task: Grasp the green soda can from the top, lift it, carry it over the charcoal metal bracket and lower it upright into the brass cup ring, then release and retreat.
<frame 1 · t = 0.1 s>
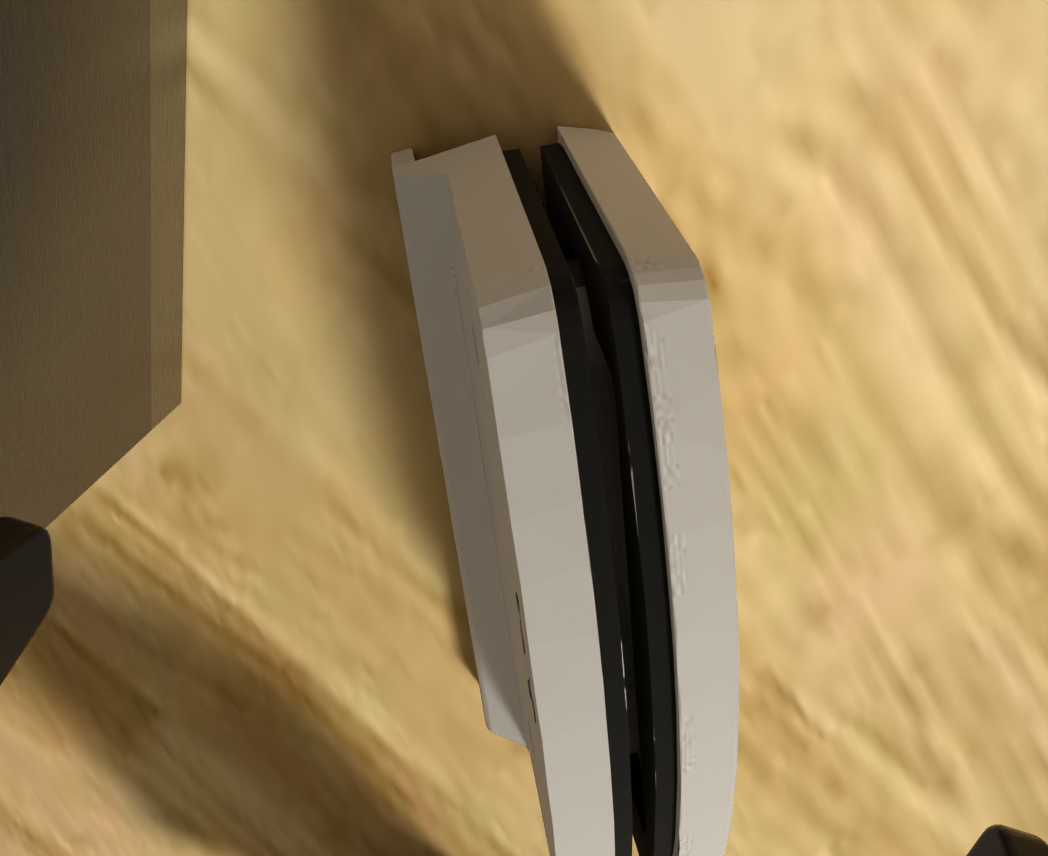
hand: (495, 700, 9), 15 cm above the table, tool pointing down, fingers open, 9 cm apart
white slotted casing: (590, 453, 25), on the table
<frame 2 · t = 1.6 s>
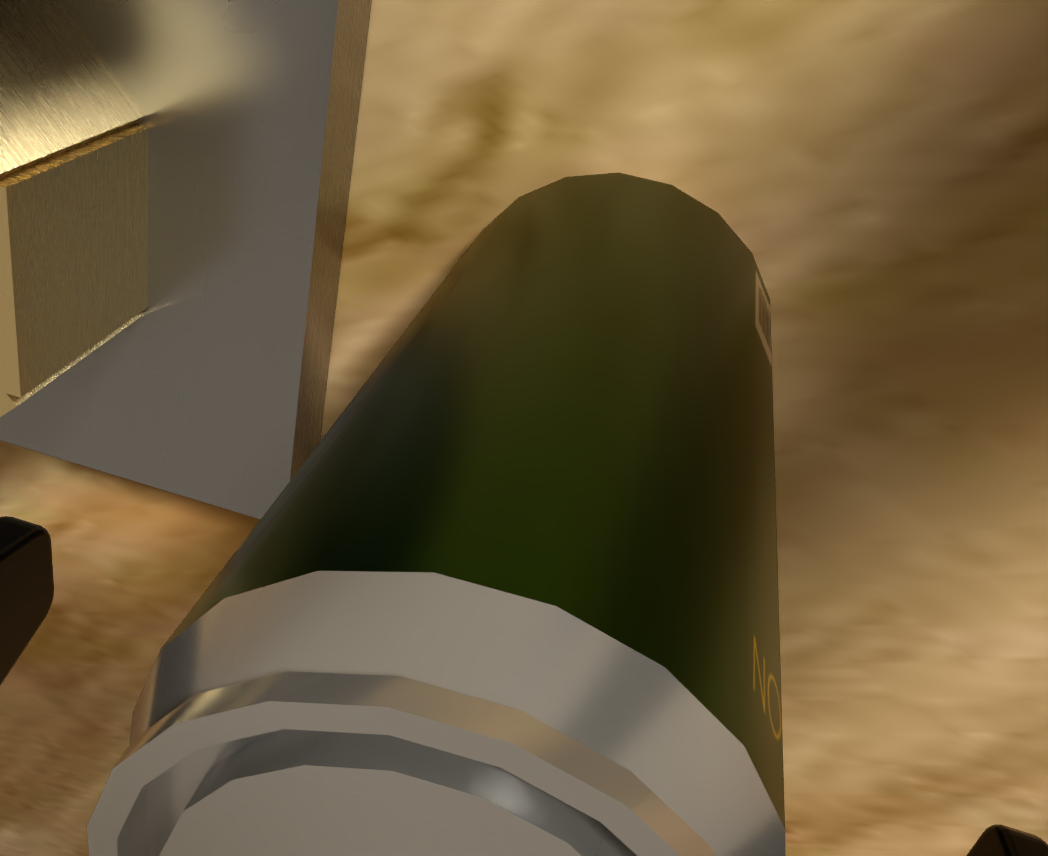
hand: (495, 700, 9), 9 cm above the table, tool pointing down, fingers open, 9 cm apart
green soda can: (615, 310, 17), on the table
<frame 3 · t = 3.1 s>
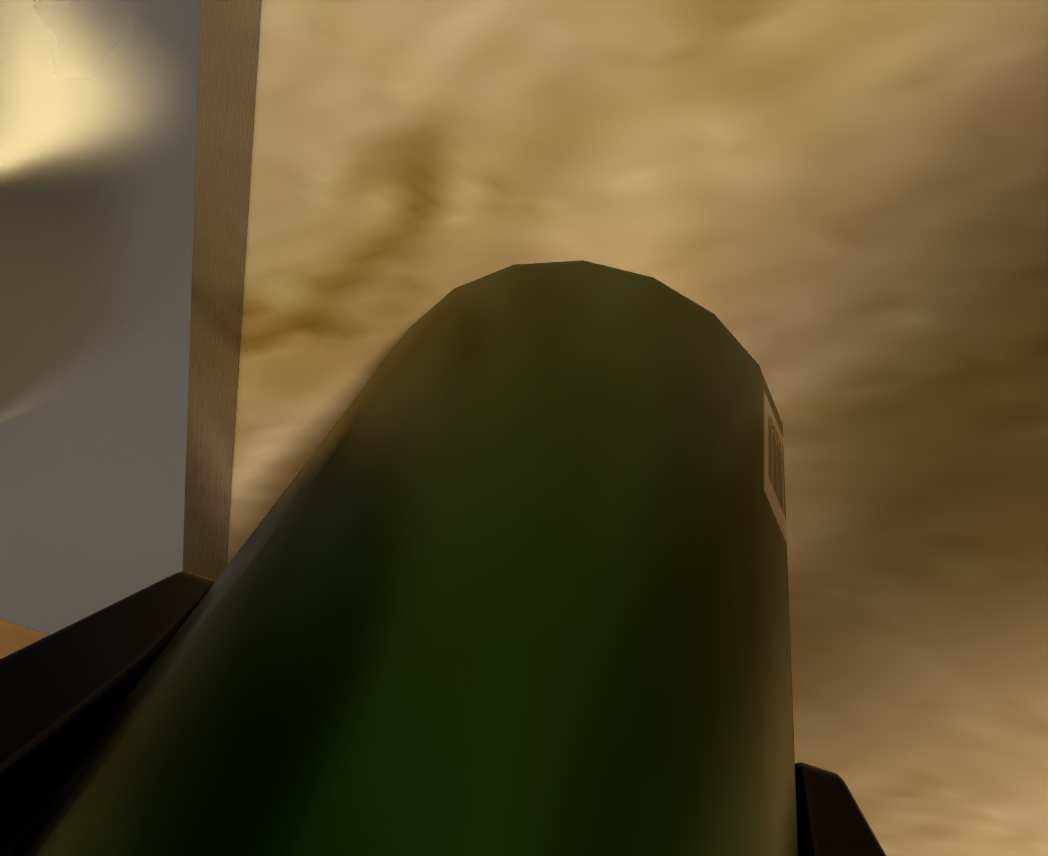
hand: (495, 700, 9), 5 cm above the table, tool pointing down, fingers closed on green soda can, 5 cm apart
green soda can: (584, 421, 14), on the table, touching gripper
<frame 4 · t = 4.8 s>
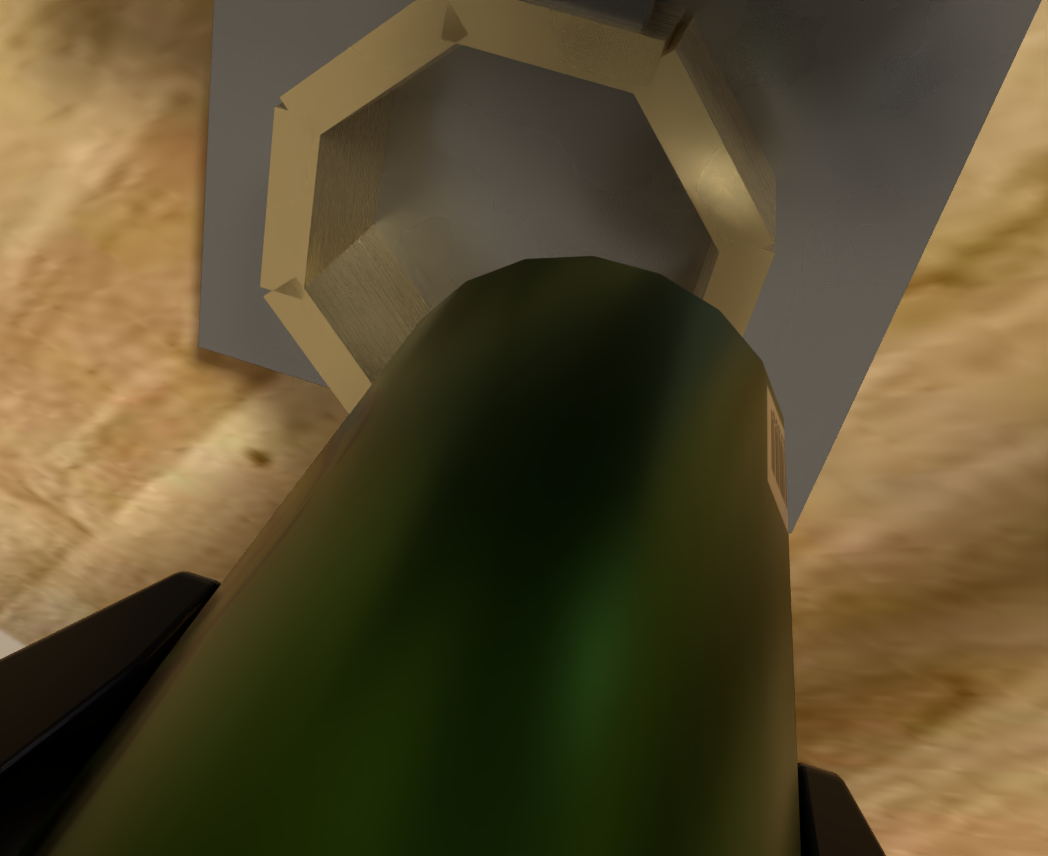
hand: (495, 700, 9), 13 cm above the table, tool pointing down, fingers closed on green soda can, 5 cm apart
green soda can: (589, 413, 14), point 8 cm above the table, touching gripper
cup bracket: (575, 114, 20), on the table
when the fingers open (8 cm above the table, at t = 7.0 s): green soda can stays where it is, resting on cup bracket.
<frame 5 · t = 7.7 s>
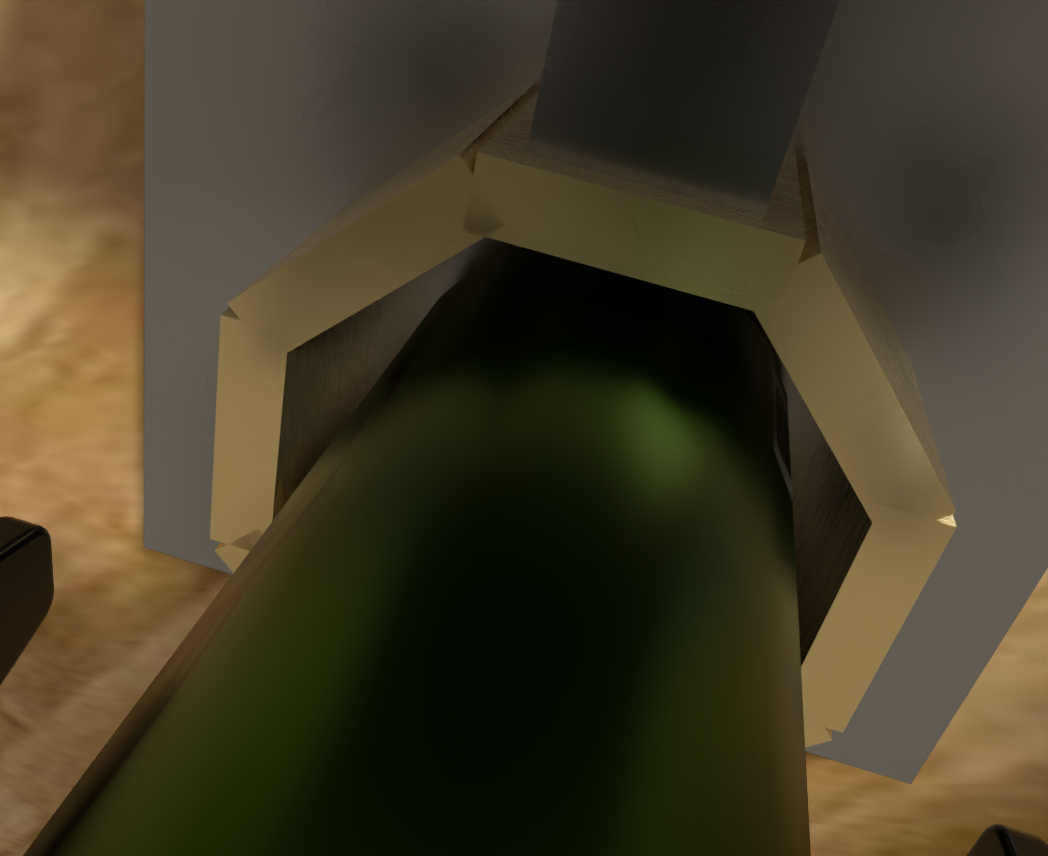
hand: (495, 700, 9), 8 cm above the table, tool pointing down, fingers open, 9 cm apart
green soda can: (598, 391, 15), point 1 cm above the table, touching cup bracket
cup bracket: (629, 266, 15), on the table
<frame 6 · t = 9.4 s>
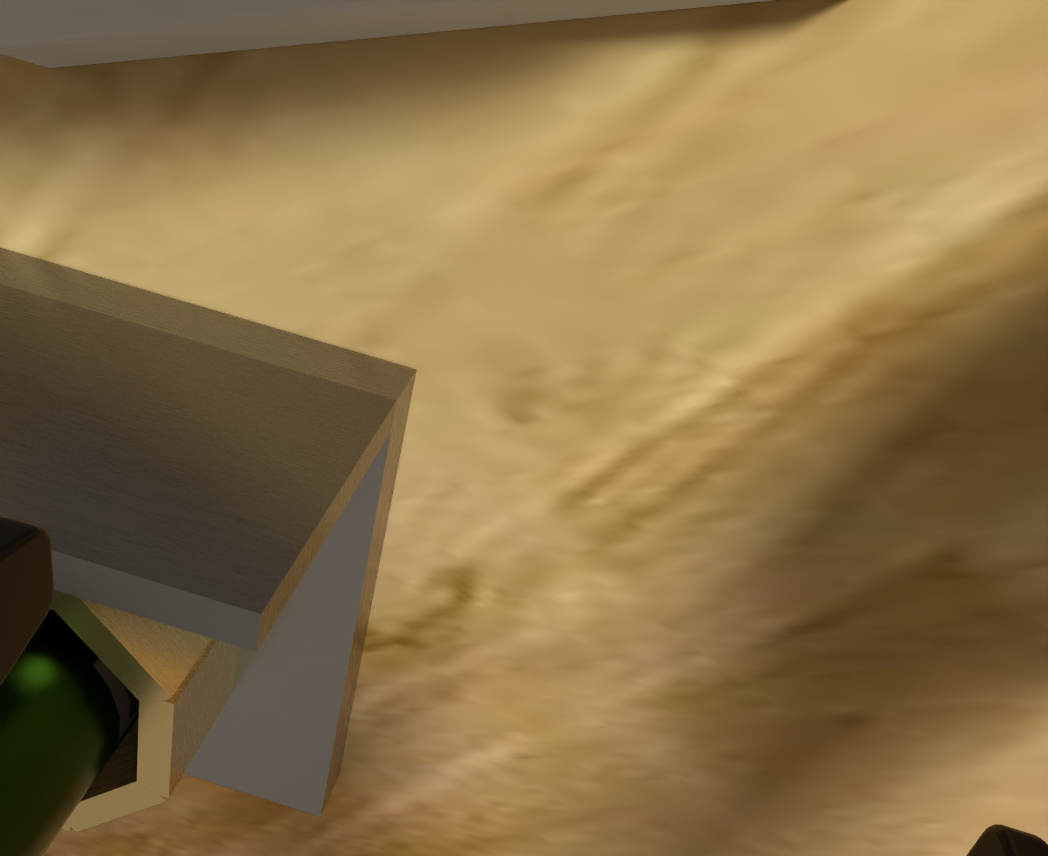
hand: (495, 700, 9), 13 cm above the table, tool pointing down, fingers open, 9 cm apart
green soda can: (95, 598, 26), point 1 cm above the table, touching cup bracket
cup bracket: (119, 523, 26), on the table
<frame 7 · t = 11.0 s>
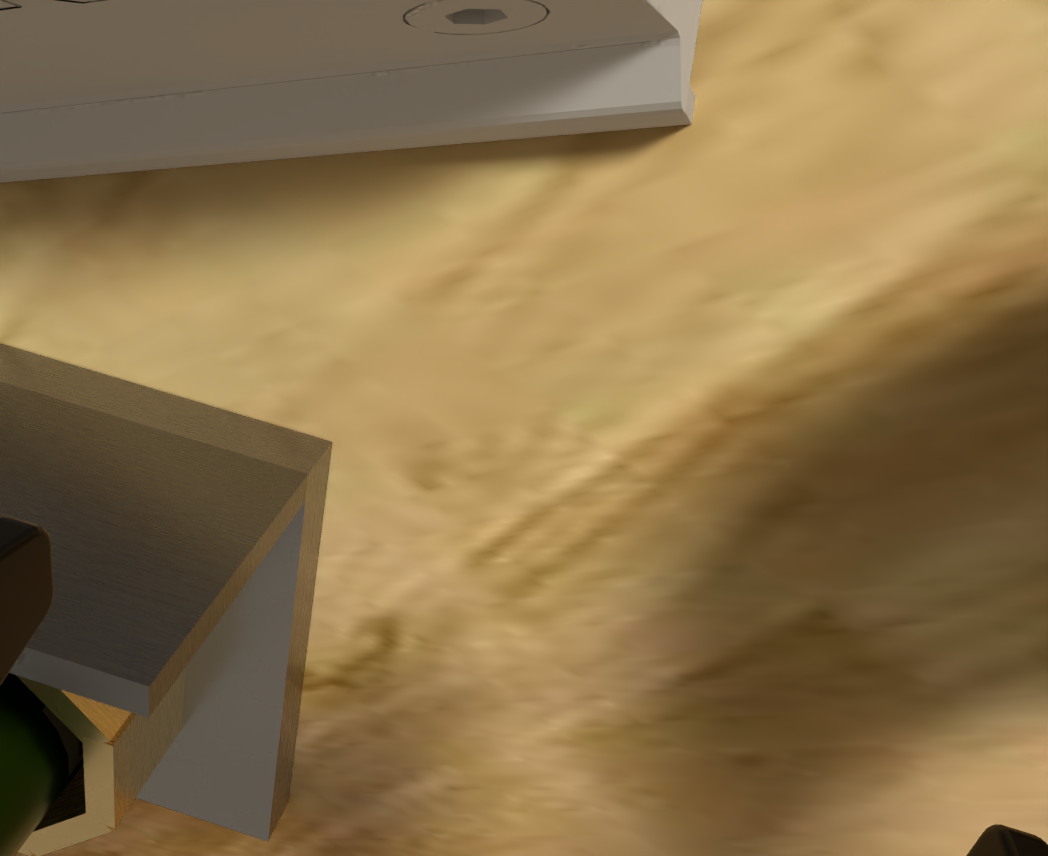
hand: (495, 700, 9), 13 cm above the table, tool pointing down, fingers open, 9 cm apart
green soda can: (56, 642, 28), point 1 cm above the table, touching cup bracket
cup bracket: (78, 573, 28), on the table
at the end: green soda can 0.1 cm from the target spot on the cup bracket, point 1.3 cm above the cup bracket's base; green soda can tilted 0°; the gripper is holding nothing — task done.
